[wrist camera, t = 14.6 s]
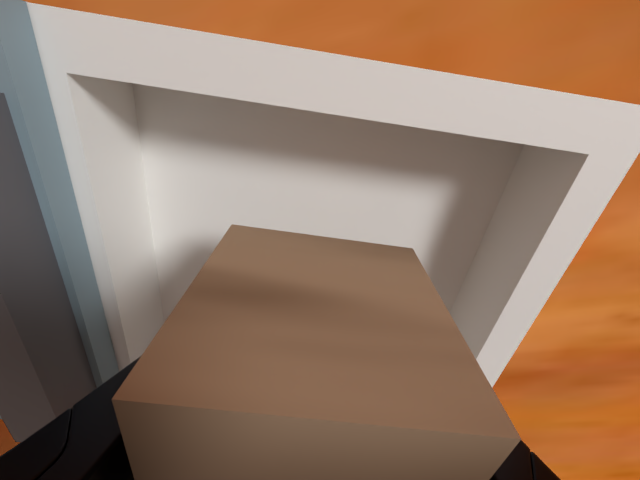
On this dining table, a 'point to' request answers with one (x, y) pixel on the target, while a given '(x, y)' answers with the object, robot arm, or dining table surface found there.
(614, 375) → the dining table surface
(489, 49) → the dining table surface
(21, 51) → the sliding cover
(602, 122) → the white sliding-lid box
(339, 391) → the walnut block
